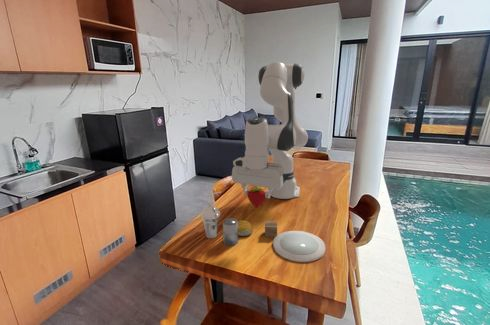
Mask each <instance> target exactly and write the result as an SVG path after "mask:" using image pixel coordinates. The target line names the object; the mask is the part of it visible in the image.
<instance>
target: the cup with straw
mask: <svg viewBox="0 0 490 325" xmlns="http://www.w3.org/2000/svg"><path fill="white" fill-rule="evenodd" d="M222 193H223V192H222V190H221V191H220V190H219V191H215V192H211V193H208V198H207V199H208V204H207V205H205V206H204V207H203V208H202V210H201V212H200V213H199V217H200V218H201V219H202V221H203V222H202V223H203V227H204V231H205V232H204V233H205V236H206V238H208V239H214V238H216V237H217V234H218V223H219V217H220V216H221V211H220V209H219V208H218V207H217V206H215V205H213V204H211V196H213V195H217V194H222Z"/></svg>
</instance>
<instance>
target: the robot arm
mask: <svg viewBox="0 0 490 325" xmlns="http://www.w3.org/2000/svg"><path fill="white" fill-rule="evenodd" d="M257 78H258V83H259V85H260V88H259V94H260V97H261V98H262V99H263V101H265V103H267V105H271V106H272V107H273V116H274V118H275V119H276V120H278V121H279V122H281V123H282V124H268V120H267V118H265V117H261V116H256V117H251V118H248V119H247V120H246V123H245V129H244V144H245V151H244V155H243V156H241V157H238V158H236V159H234V160H233V161H232V165H233V167H232V170H231V180H232V182H233V183H235V184H240V186H241V189H242V190H243V194H244V196H245V195H246V196H248V192H249V191H250V189H248V188H247V185H248V186H256V187H259V188H267V191H266V192H265V193H266V194H265V198H266V199H271V197H273V198H276V199H280V200H281V199H282V200H284V199H285V200H289V199H292V198H299V197H300V191H301V190H300V188H301V187H300V186H298V185H297V179H296V178H295V169H294V158H293V156H292V155H291V154H290V153H289V151H290V150H291V149H296V148H303V147H305V146H306V144H307V143H308V141H309V135H308V132H307V130H306V129H305V128H303V127H302V126H301V125H300V123H299V122H298V120H297V117H296V105H295V104H296V101H295V100H296V92H295V90H296V89H297V88H299V87H300V86H301V85H302V84H303V82H304V80H305V70H304V67H303V66H302V64H300V63H282V62H280V61H272V62H270V63H269V64H268V65H265V66H262V67H261V68H260V69H259V71H258V77H257ZM269 153H271V157H272V162H269V161H270V158H269V155H270V154H269Z"/></svg>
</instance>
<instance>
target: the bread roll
mask: <svg viewBox="0 0 490 325" xmlns="http://www.w3.org/2000/svg"><path fill="white" fill-rule="evenodd" d="M237 221H238V220H237ZM253 231H254V228H253V226H252V224H251V223H250V222H249V221H248V220H239V221H238V236H240V237H242V236H244V237H246V236H249V235H251V234H252V232H253Z"/></svg>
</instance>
